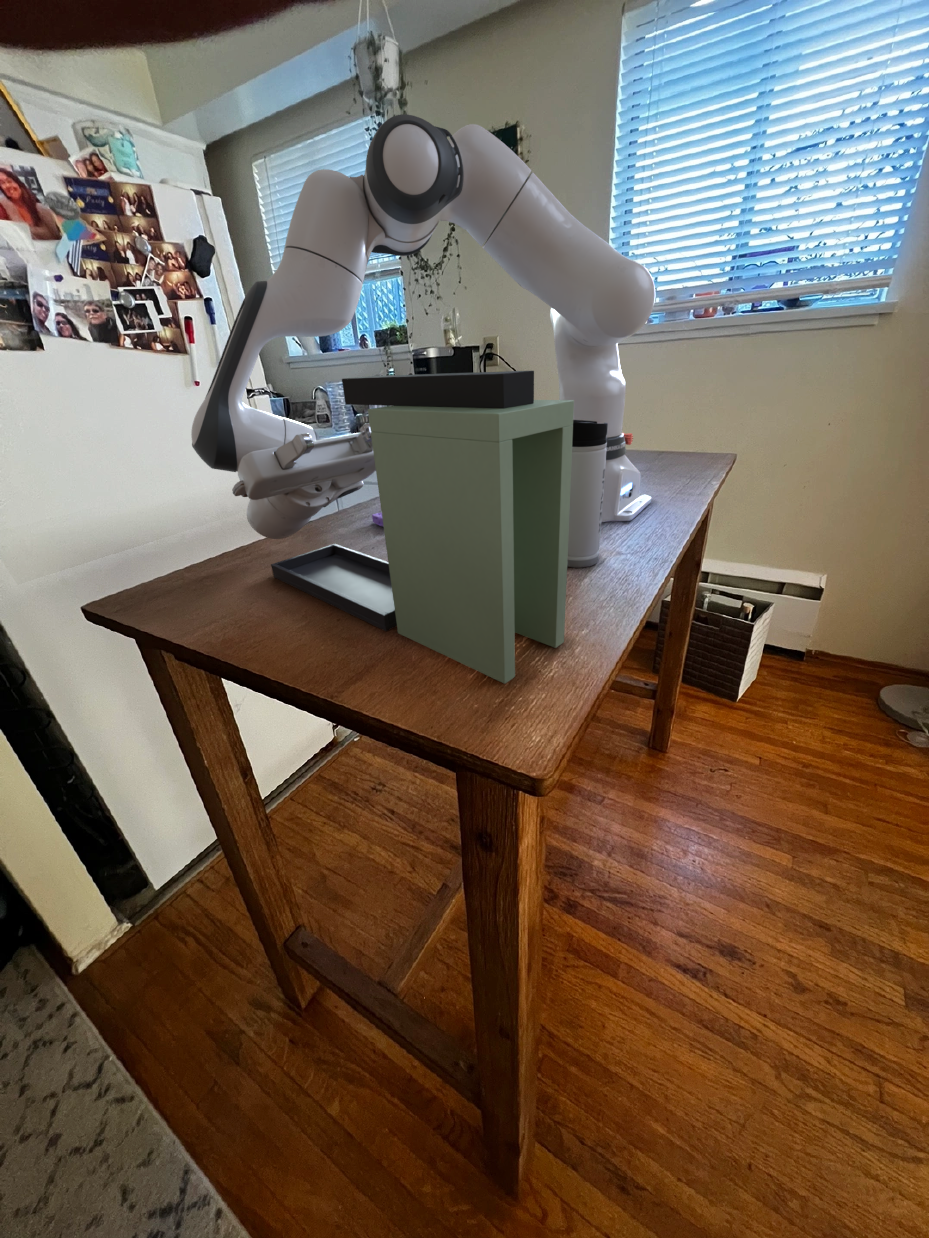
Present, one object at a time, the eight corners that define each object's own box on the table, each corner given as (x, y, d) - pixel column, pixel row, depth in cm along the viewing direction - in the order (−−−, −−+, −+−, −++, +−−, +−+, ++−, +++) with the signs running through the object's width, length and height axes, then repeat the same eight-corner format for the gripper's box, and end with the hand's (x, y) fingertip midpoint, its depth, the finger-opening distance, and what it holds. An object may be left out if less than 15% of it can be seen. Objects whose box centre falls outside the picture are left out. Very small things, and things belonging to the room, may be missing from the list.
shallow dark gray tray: (336, 555, 82) (334, 543, 81) (453, 598, 65) (452, 583, 64) (273, 577, 76) (270, 564, 75) (386, 631, 58) (383, 615, 57)
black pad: (375, 400, 56) (372, 376, 55) (534, 403, 42) (534, 370, 41) (345, 404, 54) (341, 378, 52) (503, 408, 40) (503, 373, 39)
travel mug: (545, 558, 76) (548, 417, 67) (581, 550, 78) (589, 412, 69) (569, 571, 71) (575, 421, 62) (607, 562, 73) (619, 416, 64)
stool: (458, 602, 64) (444, 398, 53) (564, 642, 54) (574, 400, 43) (397, 633, 58) (367, 409, 47) (504, 684, 48) (498, 413, 37)
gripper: (217, 475, 64) (245, 419, 53) (351, 448, 76) (395, 400, 66) (240, 520, 64) (272, 475, 53) (369, 487, 77) (415, 445, 66)
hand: (341, 433), depth 60 cm, fingers open, 8 cm apart
